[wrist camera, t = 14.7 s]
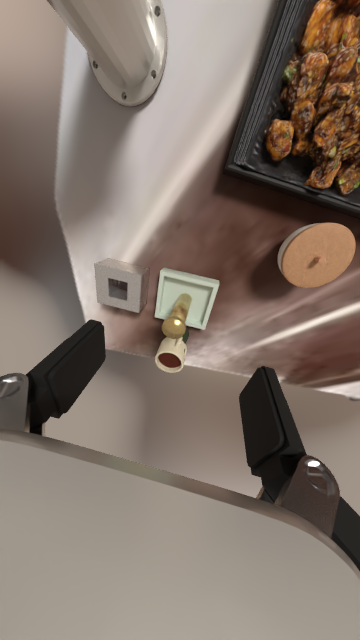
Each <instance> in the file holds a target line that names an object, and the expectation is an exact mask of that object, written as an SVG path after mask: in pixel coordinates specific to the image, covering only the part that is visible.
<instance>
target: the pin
mask: <svg viewBox="0 0 360 640" xmlns="http://www.w3.org/2000/svg"><path fill="white" fill-rule="evenodd" d="M191 302H192V298H191V296H190V295H189V294H186V293H183V294H181V295H180V296H179V297H178V299H177V301H176V304H175V306H174V308H173V310H172V312H171V314H170V316H169V317H167V318H166V319H165V320H164V322H163V324H162V331H163V333H164V334H165V335H166V336H167V337H168V338H171V339H179V338H181V337H182V336H183V335H184V334H185V330H186V324H185V322H186V318H187V315H188V312H189V309H190V305H191Z"/></svg>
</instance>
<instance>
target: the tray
mask: <svg viewBox="0 0 360 640" xmlns="http://www.w3.org/2000/svg"><path fill="white" fill-rule="evenodd" d="M218 287H219V280H215V279H210V278H206V277H202V276H198V275H194V274H189V273H185V272H181V271H177V270H173V269H168V268H163V269H162V270H161V271H160V278H159V286H158V294H157V302H156V311H155V317H156V318H160V319H164V320H165V319H166V318H167V317H169V316H170V314H171V312H172V310H173V308H174V306H175V304H176V301H177V299H178V297H179V296H180V295H181V294H183V293H186V294H189V295H190V296H191V298H192V302H191V305H190V309H189V312H188V315H187V318H186V322H185V324H186V325H187V326H191V327H195V328H199V329H203V330H205V327H206V324H207V321H208V318H209V315H210V312H211V309H212V306H213V302H214V299H215V296H216V293H217V290H218Z"/></svg>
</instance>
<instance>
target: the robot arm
mask: <svg viewBox="0 0 360 640" xmlns="http://www.w3.org/2000/svg"><path fill="white" fill-rule="evenodd" d="M47 1H48V2H49V4H50V5H51V6H52V7H53V9H54V10H55V11H56V12H57V14H58V15H59V16H60V18H61V19H62V20H63V21H64V23H65V24H66V25H67V26H68V28H69V29H70V30H71V31H72V33H73V34H74V35H75V37H76V38H77V39H78V40H79V42H80V43H81V44H82V45H83V47H84V48H85V49H86V50H87V52H88V56H89V60H90V63H91V66H92V69H93V72H94V74H95V76H96V78H97V80H98V82H99V83H100V85H101V86H102V88H103V89H104V90H105V92H106V93H107V94H108V95H109V96H110V97H111V98H112V99H113V100H114V101H116V102H118V103H119V104H121V105H125V106H136V105H139V104H142V103H143V102H145V101H146V100H148V98H149V97H150V96H151V95H152V94H153V93H154V91H155V89H156V88H157V86H158V84H159V82H160V79H161V77H162V74H163V71H164V67H165V62H166V55H167V26H166V20H165V15H164V10H163V6H162V3H161V0H47ZM158 16H159V17H158ZM155 76H156V78H155V79H154V77H155ZM126 97H127V98H126ZM125 98H126V100H125ZM105 357H106V355H105V336H104V326H103V325H102V323H101V322H99V321H95V320H89V321H88V322H87V323H86V324H85V325H83V326H82V327H81V328H80V329H79V330H78V331H76V333H74V334H73V335H72V336H71V337H70V338H68V339H66V340H65V341H64V342H63V343H62V344H60V345H59V346H58V347H57V348H56V349H55V350H54V351H52V353H50V354H49V355H48V356H47V357H46V358H44V359H43V360H42V361H41V362H40V363H39V364H38V365H37V366H35V367H34V368H33V369H32V370H31V371H30V372H29V373H27V374H26V375H24V374H22V373H12V374H7V375H4V376H1V377H0V640H360V516H359V515H358V514H357V513H356V512H355V511H354V510H353V509H352V508H351V507H350V506H349V505H348V503H346V501H345V500H344V499H343V498H342V497H340V490H339V486H338V483H337V481H336V479H335V477H334V475H333V474H332V473H331V471H330V470H329V469H328V467H326V465H325V464H323V463H322V462H321V461H320V460H319V459H317V458H315V457H313V456H310V455H307V454H306V452H305V449H304V446H303V444H302V441H301V438H300V436H299V433H298V430H297V428H296V425H295V423H294V420H293V417H292V414H291V412H290V409H289V406H288V404H287V401H286V399H285V397H284V394H283V392H282V389H281V386H280V384H279V381H278V378H277V375H276V373H275V370H274V369H272V368H269V367H265V366H262V367H261V368H258V369H257V370H256V371H255V373H254V374H253V376H252V377H251V379H250V380H249V382H248V383H247V385H246V386H245V388H244V389H243V391H242V392H241V394H240V396H239V402H240V409H241V418H242V424H243V433H244V441H245V449H246V456H247V463H248V466H249V467H251V473H252V475H255V476H258V477H261V480H262V485H263V487H262V488H261V490H260V492H259V494H258V495H257V497H256V498H253V497H250V496H247V495H243V494H240V493H237V492H234V491H231V490H228V489H224V488H221V487H218V486H214V485H211V484H208V483H204V482H200V481H197V480H194V479H190V478H187V477H184V476H181V475H177V474H174V473H170V472H167V471H164V470H160V469H157V468H154V467H150V466H147V465H143V464H140V463H137V462H133V461H129V460H126V459H123V458H119V457H116V456H113V455H109V454H105V453H102V452H99V451H95V450H92V449H88V448H85V447H81V446H78V445H74V444H71V443H67V442H64V441H60V440H56V439H52V438H49V437H45V422H46V421H47V420H48V419H49V418H50V416H51V417H55V418H60V417H61V415H62V414H63V413H66V412H67V411H68V410H69V409H70V407H71V406H72V405H73V403H74V402H75V401H76V399H77V398H78V396H79V395H80V394H81V392H82V391H83V390H84V388H85V387H86V386H87V384H88V383H89V382H90V380H91V379H92V377H93V376H94V375H95V373H96V372H97V370H98V369H99V368H100V366H101V365H102V363H103V362H104V360H105Z"/></svg>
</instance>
